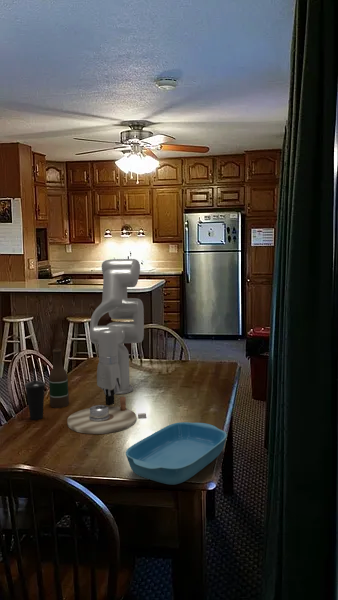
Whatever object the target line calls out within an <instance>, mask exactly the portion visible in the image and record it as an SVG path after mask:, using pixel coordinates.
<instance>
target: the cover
mask: <svg viewBox="0 0 338 600" xmlns="http://www.w3.org/2000/svg"><path fill="white" fill-rule="evenodd" d="M89 408H90V416H89V419H90V420H91V421H95V422H101V421H106V420H108V419H109V418H110V416H109V410H108V405H106V404H98V405H97V404H96V405H92V406H91V407H89Z"/></svg>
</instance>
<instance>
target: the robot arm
mask: <svg viewBox="0 0 338 600" xmlns="http://www.w3.org/2000/svg"><path fill="white" fill-rule="evenodd" d="M101 272H102V275H103V277H102V280H103V281H102V296H101V297H102V300H101V303H100V304H99V305H98V306H96V308H95V310H94V311H93V312H92V315H91V318H90V320H89V321H90V322H89V323H90V324H89V340H90V342H91V343H92V344H94V345H98V364H97V366H96V367H97V368H96V369H97V370H96V385H97V387H99V388H100V389H101V390H102V391H103V393H104V396H105V405H106V406H113V405H114V404H115V395H125V394H129V393H132V392H133V391H134V386H133V385H131V382H130V355H129V350H128V348H127V347H126V346H125V344H138V343H142V342H143V340H144V338H145V337H144V336H145V334H144V333H145V324H144V323H145V319H144V318H145V315H144V313H145V310H144V303H143V301H142V300H141V299H140V298H135V297H134V298H132V297H129V298H128V288H134V287H136V286H137V284H138V282H139V278H140V277H139V276H140V273H141V264H140V262H139V260H138V259H136V258H117V259H116V258H114V259H113V258H112V259H111V258H110V259H105V260H104V261H103V262H102V263H101ZM107 313H108V315H109V317H110V318H111V319H113V320H132V321H113V322H109V323H107V324H106V325H98V324H99V321H100V319H101V318H102V317H103V316H104V315H106V314H107Z"/></svg>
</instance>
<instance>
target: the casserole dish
mask: <svg viewBox="0 0 338 600" xmlns="http://www.w3.org/2000/svg"><path fill="white" fill-rule="evenodd" d="M227 437H228V434H227V432H226V431H224V430H222V429H220V428H218V427H217V426H215V425H214V424H213V425H212V424H210V423H205V422H189V421H185V422H183V421H180V422H176V423H175V422H174V423H171V424H169V425H167V426H165V427H163V428H160V429H159V430H157V431H155V432H154V433H152V434H151V435H148V436H147V437H145V438H143V439H141V440H139V441H137V442H135V443H134V444H132V445H131V446H129V447H128V448H127V449H126V451H125V456H126V458H127V461H128V464H129V466H130V469H131V471H132V472H133V473H134V474H135V475H137V476H139V477H141V478H143V477H144V479H146V478H147V479H146V480H149V479H150V480H151V481H153V482H156V483H159V484H164V485H173V486H175V485H179V484H182V483H184V482H186V481H188V480H190V479H191V478H192V477H194V476H195V475H196V474H198V473H199V472H200V471H202V470H203V469H204V468H206V467H207V466H208V465H209V464H210V463H212V462H213V461H215V460H216V458H218V457H219V456H220V455H221V453H222V452H223V449H224V447H225V444H226V441H227V440H226V439H227Z"/></svg>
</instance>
